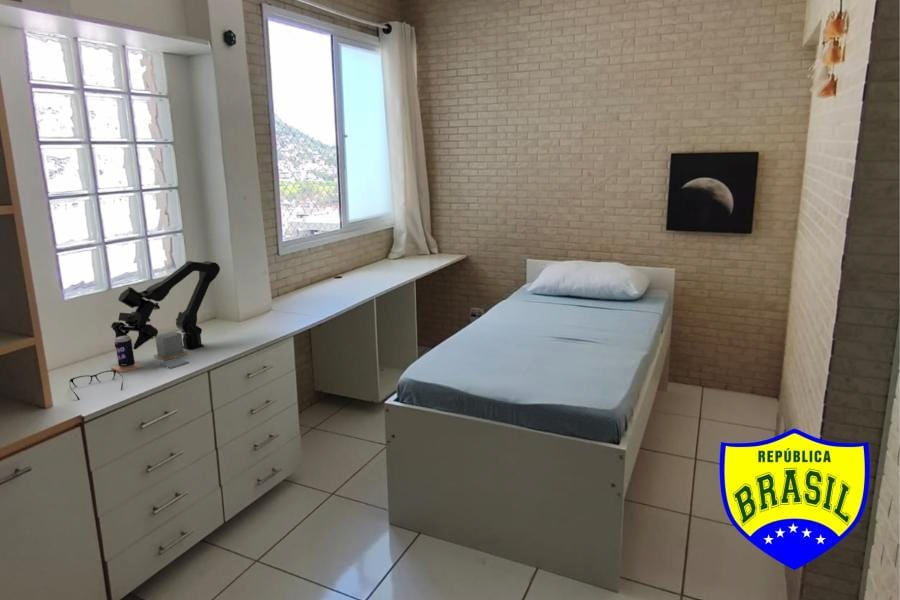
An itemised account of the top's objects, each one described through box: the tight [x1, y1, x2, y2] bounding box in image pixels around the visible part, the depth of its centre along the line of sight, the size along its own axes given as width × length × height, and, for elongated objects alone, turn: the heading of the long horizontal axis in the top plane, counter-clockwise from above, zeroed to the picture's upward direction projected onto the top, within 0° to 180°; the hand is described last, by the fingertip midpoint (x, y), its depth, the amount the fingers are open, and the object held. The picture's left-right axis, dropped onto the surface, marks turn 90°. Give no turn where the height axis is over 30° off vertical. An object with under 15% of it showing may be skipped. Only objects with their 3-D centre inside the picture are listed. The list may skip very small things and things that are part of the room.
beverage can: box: [114, 335, 136, 368], centre depth 238 cm, size 6×6×12 cm
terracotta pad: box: [111, 362, 143, 374], centre depth 239 cm, size 8×8×1 cm
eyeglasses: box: [68, 369, 124, 401], centre depth 218 cm, size 16×16×4 cm
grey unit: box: [153, 331, 188, 361], centre depth 252 cm, size 10×8×9 cm
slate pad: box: [159, 357, 190, 369], centre depth 243 cm, size 8×8×1 cm
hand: (125, 348), depth 238 cm, fingers open, 9 cm apart
